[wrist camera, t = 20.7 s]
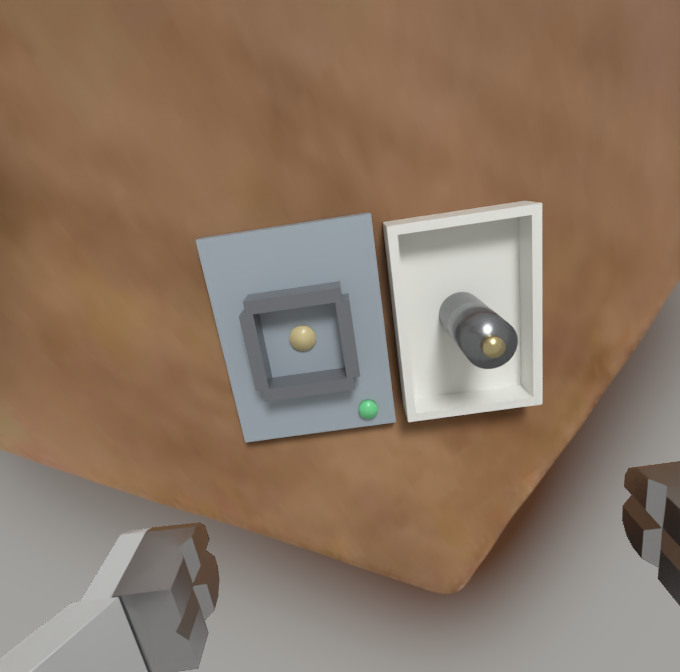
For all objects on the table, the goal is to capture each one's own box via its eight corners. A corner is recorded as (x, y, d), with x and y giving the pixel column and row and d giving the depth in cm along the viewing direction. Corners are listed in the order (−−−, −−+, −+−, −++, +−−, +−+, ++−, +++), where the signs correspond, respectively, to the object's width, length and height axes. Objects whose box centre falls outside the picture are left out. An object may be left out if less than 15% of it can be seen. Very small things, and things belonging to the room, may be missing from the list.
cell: (437, 295, 42) (465, 326, 33) (481, 288, 42) (521, 317, 33) (440, 336, 43) (468, 376, 34) (483, 330, 43) (522, 368, 34)
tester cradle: (200, 237, 41) (186, 244, 37) (369, 212, 40) (373, 216, 36) (247, 434, 47) (240, 457, 43) (394, 414, 47) (399, 435, 43)
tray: (382, 222, 40) (386, 226, 37) (524, 200, 40) (542, 203, 37) (402, 404, 46) (408, 422, 43) (527, 387, 46) (542, 404, 43)
